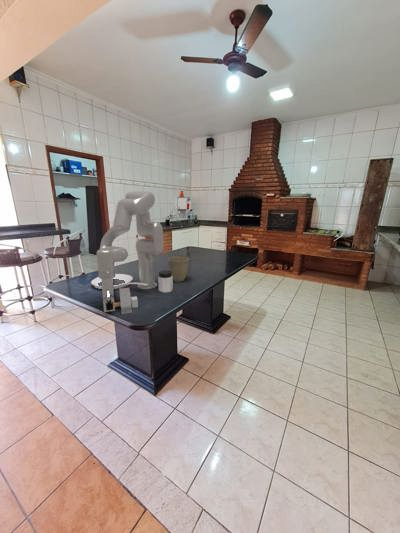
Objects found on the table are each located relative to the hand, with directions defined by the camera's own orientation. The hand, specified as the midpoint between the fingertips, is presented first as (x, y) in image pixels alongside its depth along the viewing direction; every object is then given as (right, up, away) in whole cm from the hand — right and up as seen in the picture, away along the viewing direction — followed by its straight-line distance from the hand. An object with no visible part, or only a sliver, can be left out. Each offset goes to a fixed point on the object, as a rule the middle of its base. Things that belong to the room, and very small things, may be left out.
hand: (110, 305), depth 114 cm
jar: (+25, +5, +27) cm, 37 cm away
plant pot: (+31, +10, +46) cm, 56 cm away
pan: (-5, +7, +32) cm, 34 cm away
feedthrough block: (+7, -1, +3) cm, 8 cm away
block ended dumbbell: (+5, -1, +2) cm, 6 cm away
